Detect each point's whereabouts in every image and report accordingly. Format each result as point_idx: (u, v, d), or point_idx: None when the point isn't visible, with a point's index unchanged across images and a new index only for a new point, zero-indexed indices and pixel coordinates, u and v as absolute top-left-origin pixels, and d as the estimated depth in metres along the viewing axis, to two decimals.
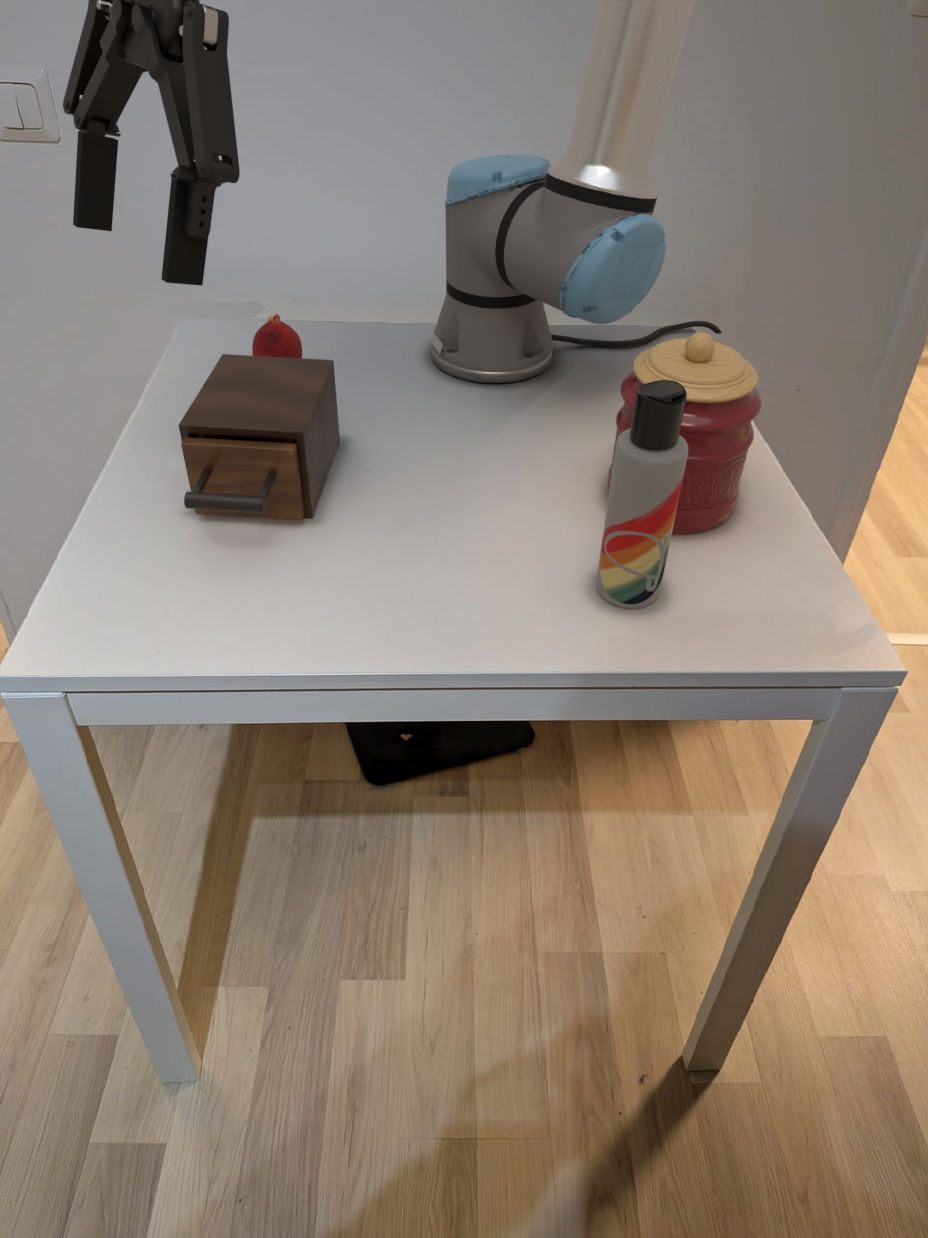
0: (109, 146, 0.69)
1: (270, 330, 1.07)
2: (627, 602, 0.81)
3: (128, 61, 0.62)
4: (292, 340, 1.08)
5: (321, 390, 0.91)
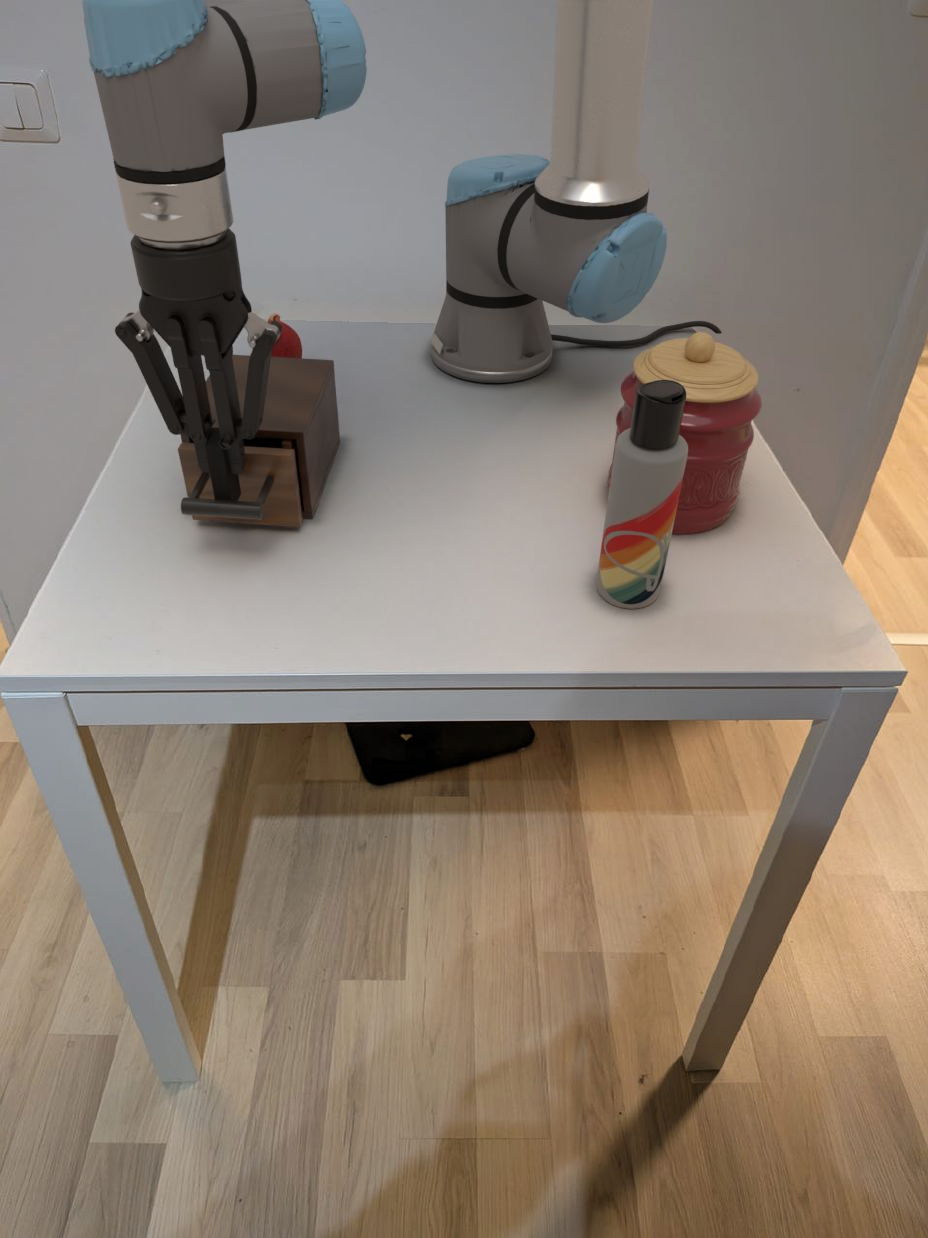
0: None
1: None
2: (627, 602, 0.81)
3: None
4: (292, 340, 1.08)
5: (321, 390, 0.91)
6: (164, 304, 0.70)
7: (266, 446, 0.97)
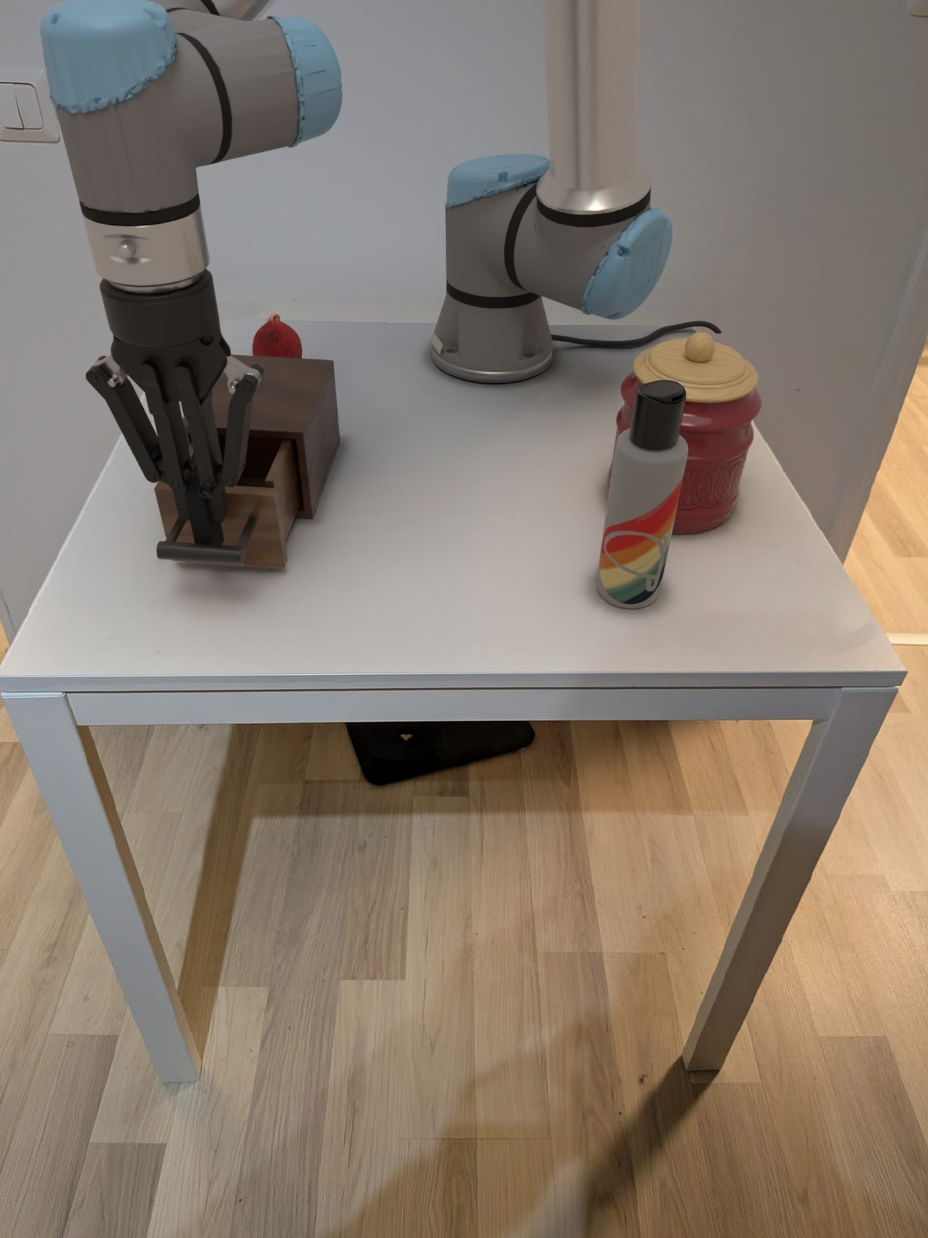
0: None
1: (270, 330, 1.07)
2: (627, 602, 0.81)
3: None
4: (292, 340, 1.08)
5: (321, 390, 0.91)
6: (137, 349, 0.66)
7: (250, 480, 0.92)
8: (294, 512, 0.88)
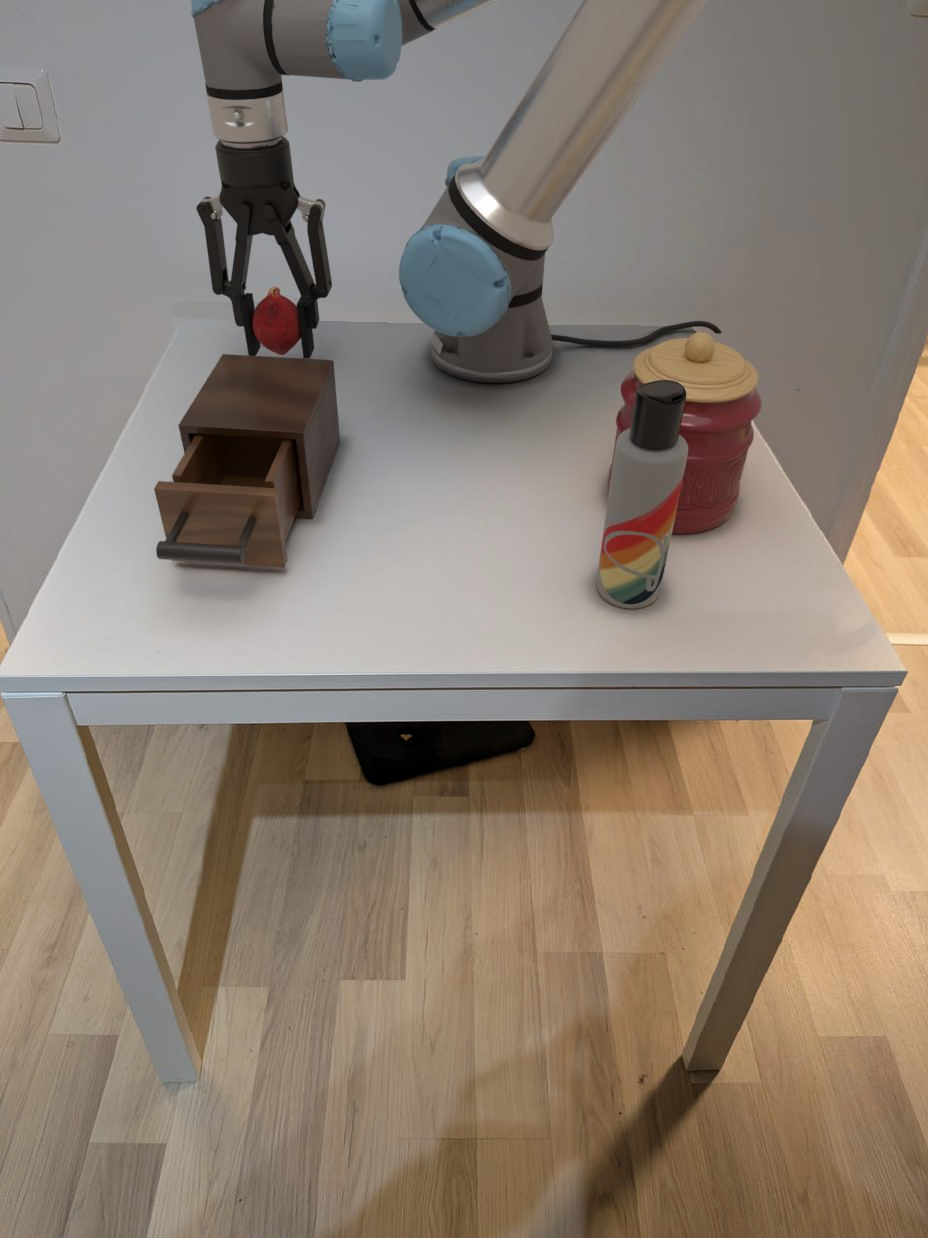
0: (251, 299, 1.07)
1: (270, 304, 1.05)
2: (627, 602, 0.81)
3: (252, 234, 1.00)
4: (292, 314, 1.06)
5: (321, 390, 0.91)
6: (240, 197, 0.98)
7: (250, 480, 0.92)
8: (294, 512, 0.88)
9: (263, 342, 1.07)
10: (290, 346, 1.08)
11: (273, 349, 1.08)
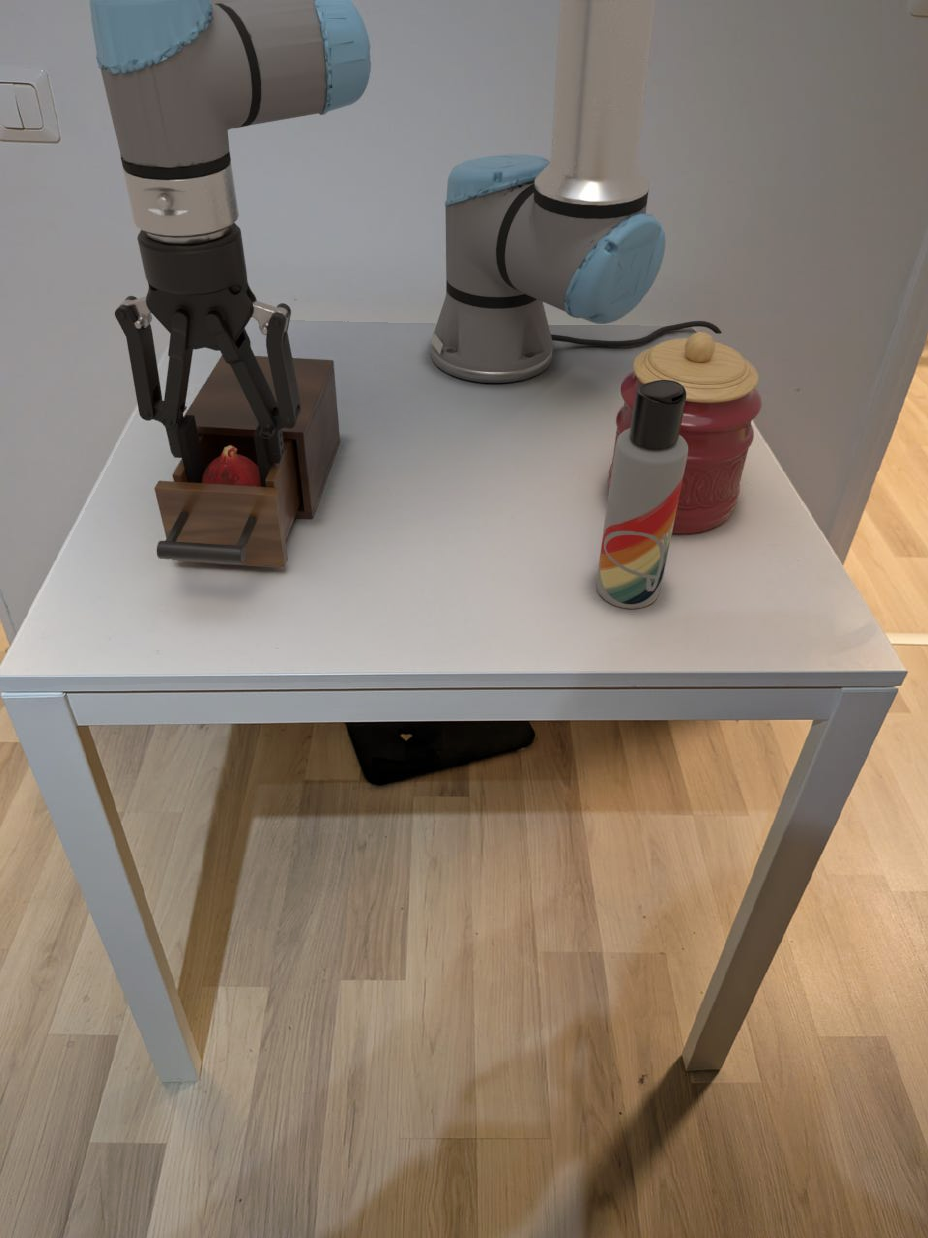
0: (193, 424, 0.81)
1: (224, 469, 0.81)
2: (627, 602, 0.81)
3: (191, 348, 0.74)
4: (252, 481, 0.82)
5: (321, 390, 0.91)
6: (173, 303, 0.72)
7: None
8: (294, 512, 0.89)
9: None
10: None
11: None
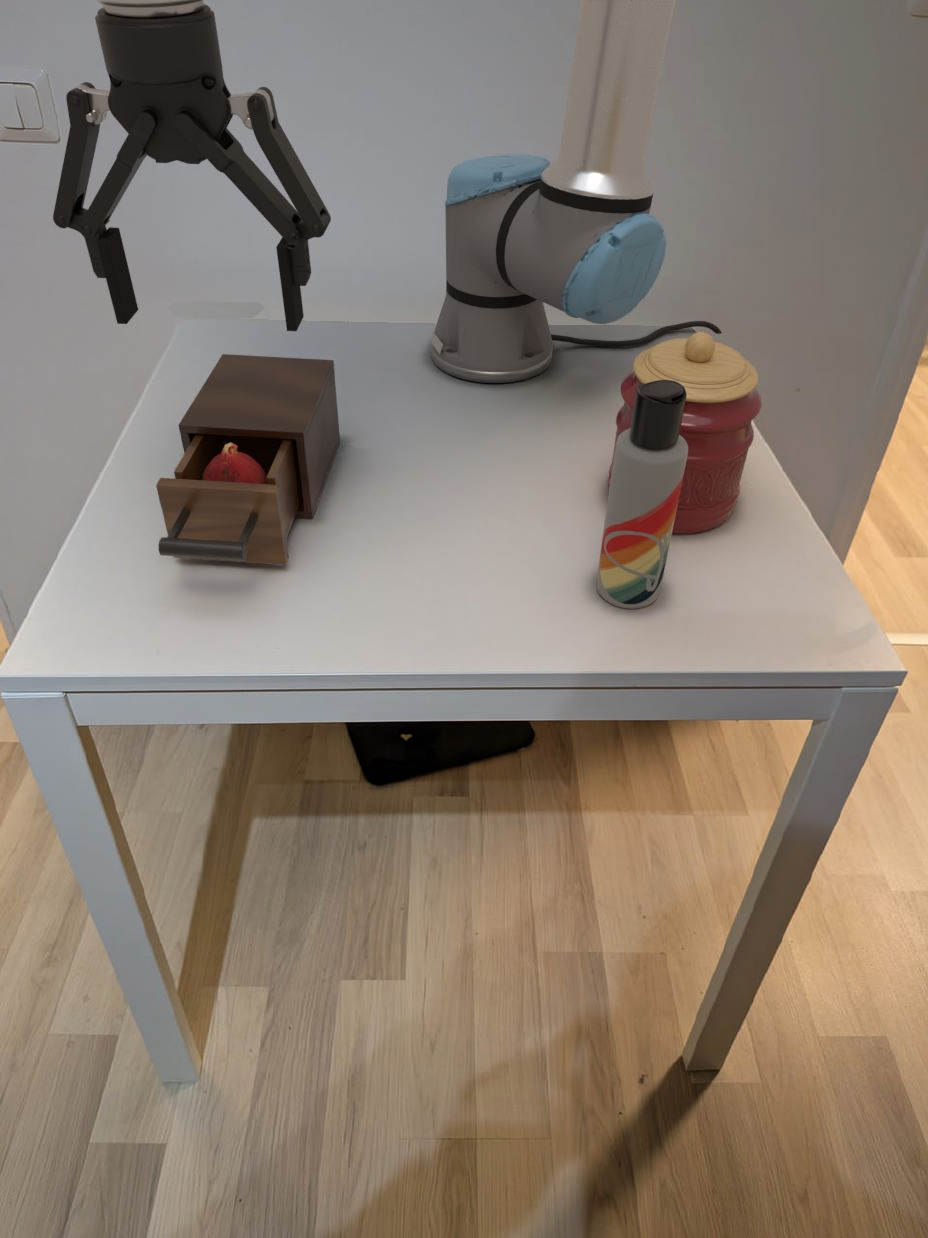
0: (117, 237, 0.71)
1: (225, 466, 0.82)
2: (627, 602, 0.81)
3: (161, 161, 0.65)
4: (253, 477, 0.83)
5: (321, 390, 0.91)
6: (141, 111, 0.63)
7: None
8: (295, 509, 0.89)
9: None
10: None
11: None
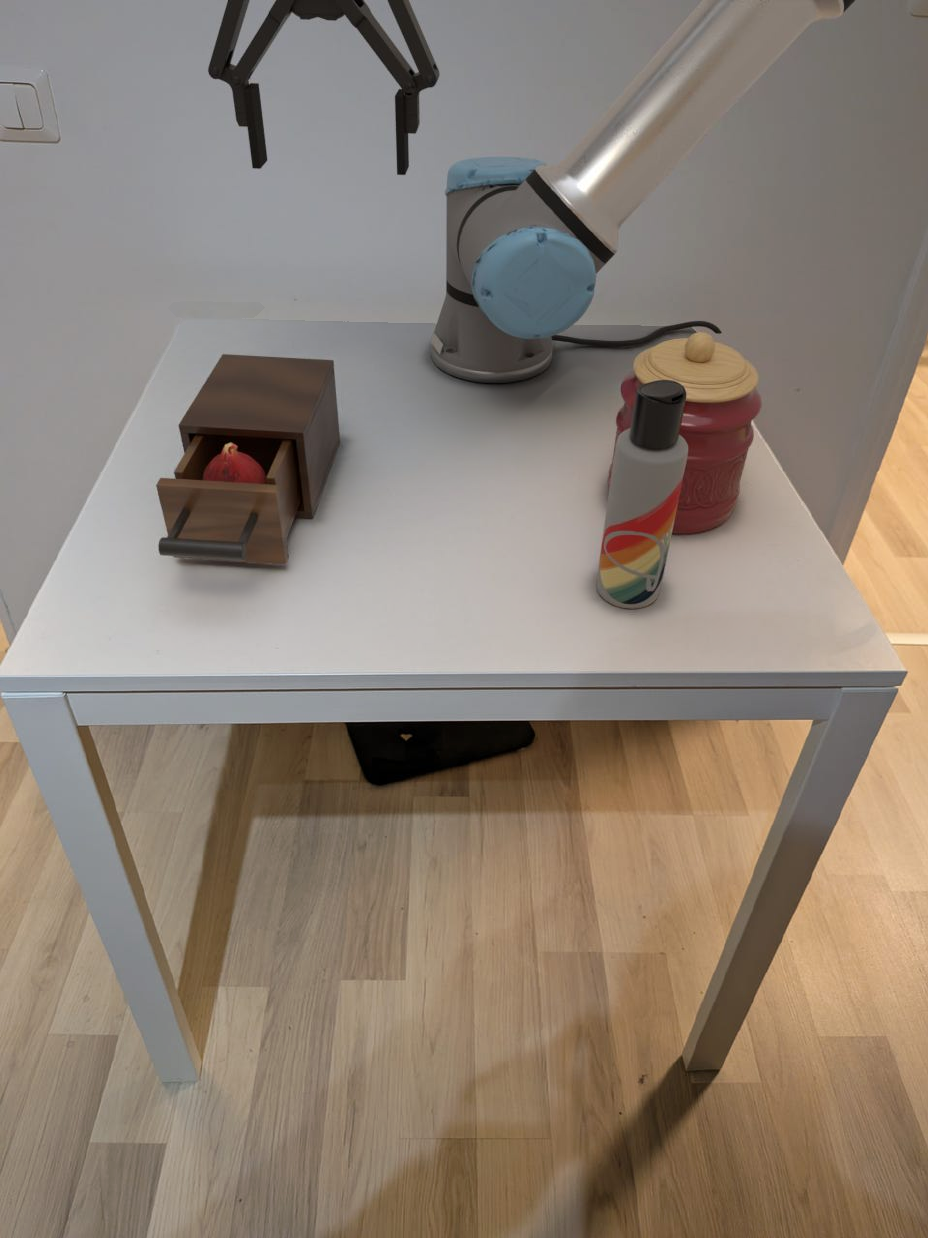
0: (257, 91, 0.84)
1: (225, 466, 0.82)
2: (627, 602, 0.81)
3: (305, 18, 0.79)
4: (253, 477, 0.83)
5: (321, 390, 0.91)
6: None
7: None
8: (295, 509, 0.89)
9: None
10: None
11: None
